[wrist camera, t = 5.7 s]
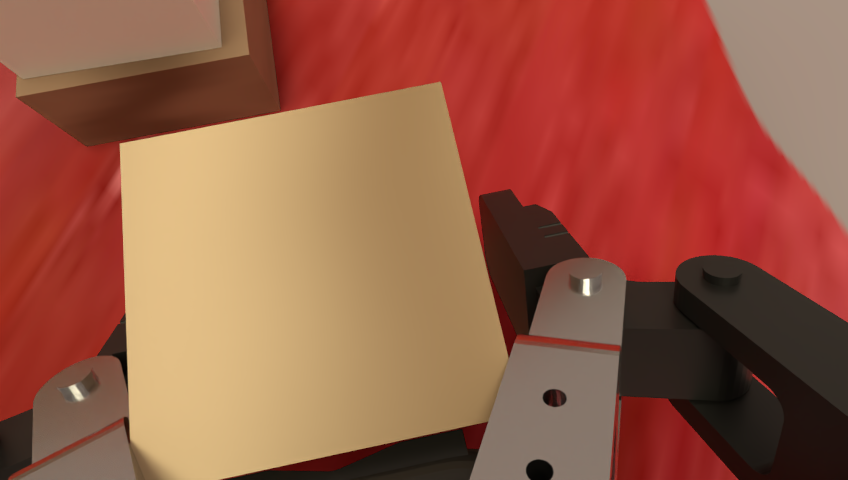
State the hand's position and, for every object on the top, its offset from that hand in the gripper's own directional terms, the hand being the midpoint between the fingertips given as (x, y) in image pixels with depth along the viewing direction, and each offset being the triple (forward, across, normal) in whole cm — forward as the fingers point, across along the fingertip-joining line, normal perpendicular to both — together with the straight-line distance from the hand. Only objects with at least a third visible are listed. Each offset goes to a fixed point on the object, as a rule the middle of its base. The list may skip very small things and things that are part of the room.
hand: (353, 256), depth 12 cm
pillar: (+2, 0, +4) cm, 5 cm away
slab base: (+11, +6, -4) cm, 13 cm away
